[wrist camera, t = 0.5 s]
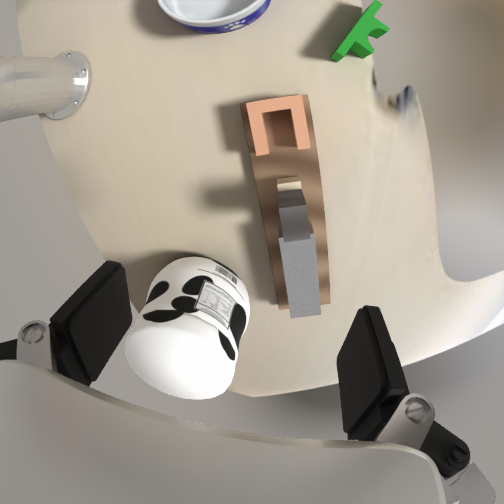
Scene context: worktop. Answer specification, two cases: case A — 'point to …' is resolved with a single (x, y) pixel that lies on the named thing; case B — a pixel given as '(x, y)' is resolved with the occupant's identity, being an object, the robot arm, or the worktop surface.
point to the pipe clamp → (362, 34)
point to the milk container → (190, 329)
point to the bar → (292, 210)
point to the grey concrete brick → (301, 275)
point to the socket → (277, 104)
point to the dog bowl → (214, 13)
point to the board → (266, 174)
